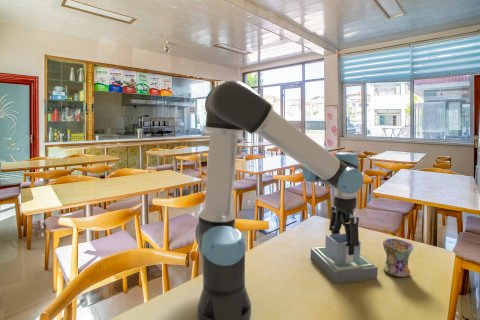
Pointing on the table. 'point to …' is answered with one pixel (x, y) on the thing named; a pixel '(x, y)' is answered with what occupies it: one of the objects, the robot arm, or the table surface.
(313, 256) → the bottom crate
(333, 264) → the top crate
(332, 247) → the small crate
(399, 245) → the mug
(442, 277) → the table surface
